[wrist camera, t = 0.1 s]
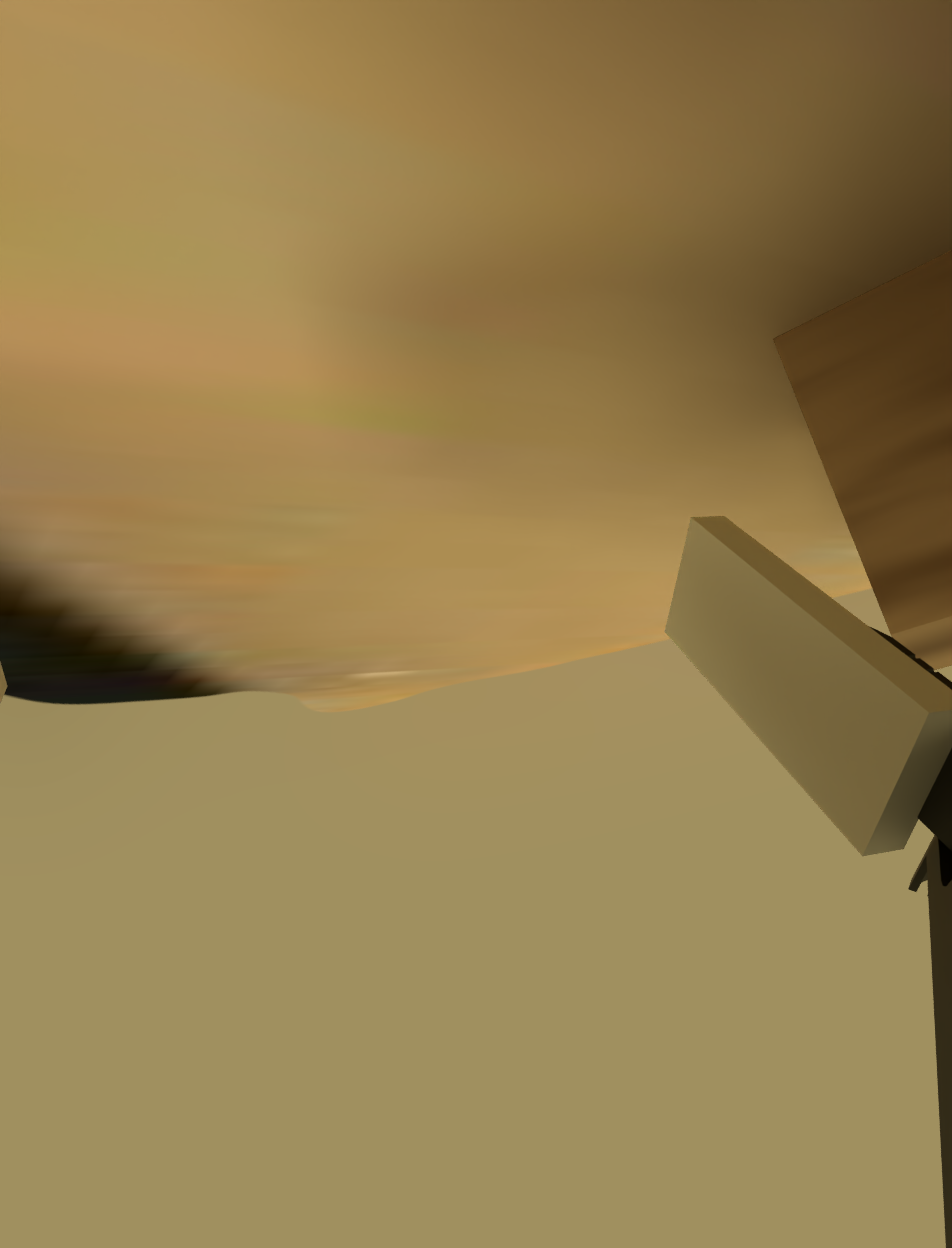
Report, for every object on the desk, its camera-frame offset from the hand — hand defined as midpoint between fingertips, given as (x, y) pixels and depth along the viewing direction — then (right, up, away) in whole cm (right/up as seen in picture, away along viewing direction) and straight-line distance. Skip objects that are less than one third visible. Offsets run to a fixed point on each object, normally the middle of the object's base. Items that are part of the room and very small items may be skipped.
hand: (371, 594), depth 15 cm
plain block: (+21, +12, +21) cm, 32 cm away
